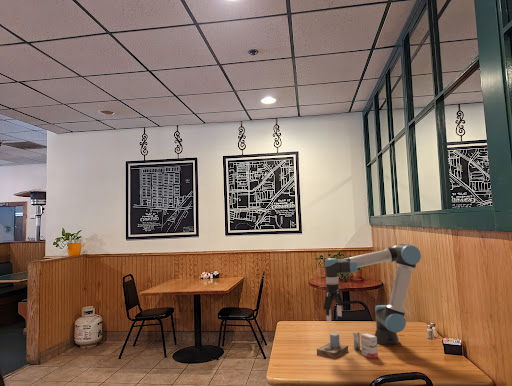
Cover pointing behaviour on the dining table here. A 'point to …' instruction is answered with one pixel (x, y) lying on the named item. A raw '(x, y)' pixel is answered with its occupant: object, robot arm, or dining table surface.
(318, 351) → the socket block
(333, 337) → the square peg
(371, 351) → the ink box
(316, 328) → the dining table surface
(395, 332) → the robot arm
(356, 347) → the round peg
